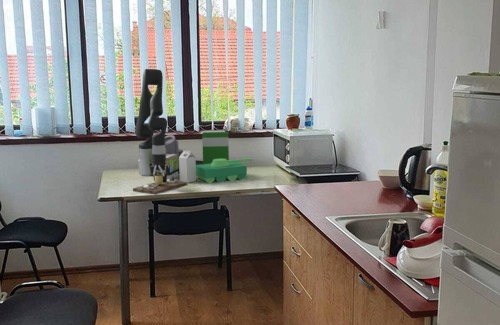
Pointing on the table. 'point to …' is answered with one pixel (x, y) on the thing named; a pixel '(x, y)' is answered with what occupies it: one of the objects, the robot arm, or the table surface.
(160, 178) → the brass ring gear
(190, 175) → the milk carton
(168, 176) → the tea box
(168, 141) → the grey watering can
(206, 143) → the hardback book
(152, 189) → the gear board
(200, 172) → the toy tank
